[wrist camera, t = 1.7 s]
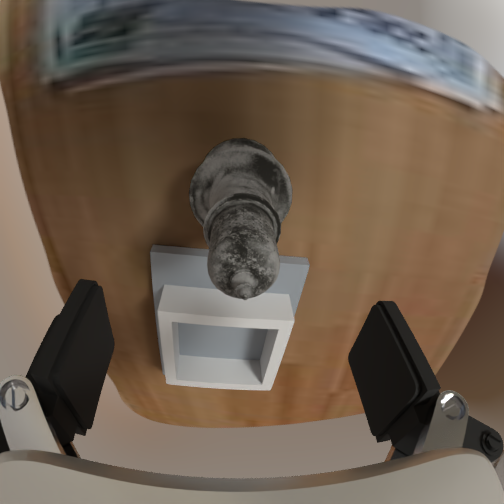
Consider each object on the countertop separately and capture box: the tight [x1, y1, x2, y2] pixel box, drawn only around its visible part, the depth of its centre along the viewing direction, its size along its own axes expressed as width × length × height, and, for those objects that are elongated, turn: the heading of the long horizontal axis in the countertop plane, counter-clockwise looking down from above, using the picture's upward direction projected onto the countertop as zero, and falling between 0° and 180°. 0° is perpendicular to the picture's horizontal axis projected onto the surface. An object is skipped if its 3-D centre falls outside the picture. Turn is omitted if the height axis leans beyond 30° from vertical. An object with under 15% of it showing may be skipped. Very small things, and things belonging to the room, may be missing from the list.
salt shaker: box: [189, 138, 292, 300], centre depth 15 cm, size 6×6×12 cm
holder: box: [150, 245, 310, 390], centre depth 26 cm, size 16×12×4 cm
